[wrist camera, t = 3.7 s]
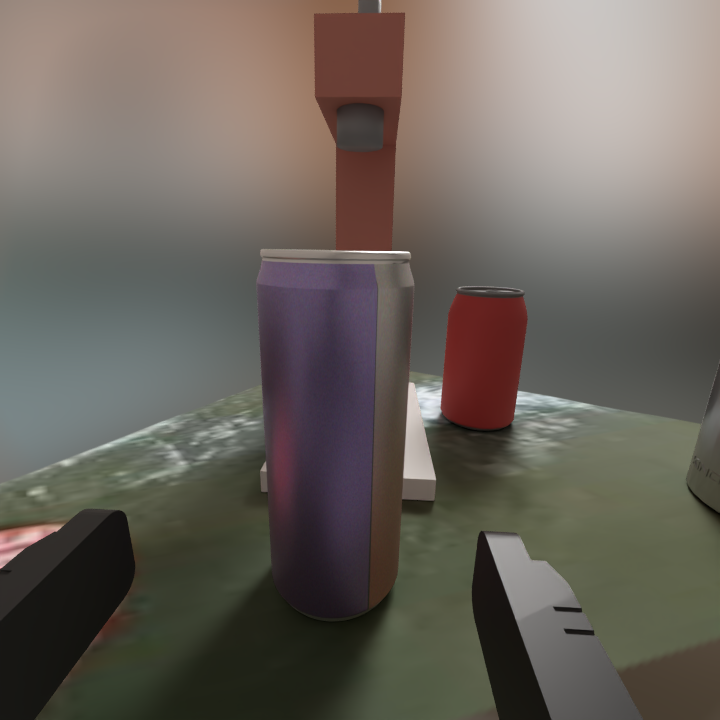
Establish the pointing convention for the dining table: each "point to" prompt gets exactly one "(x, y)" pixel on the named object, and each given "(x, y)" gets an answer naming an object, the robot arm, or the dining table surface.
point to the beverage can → (334, 422)
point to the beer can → (483, 357)
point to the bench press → (368, 162)
